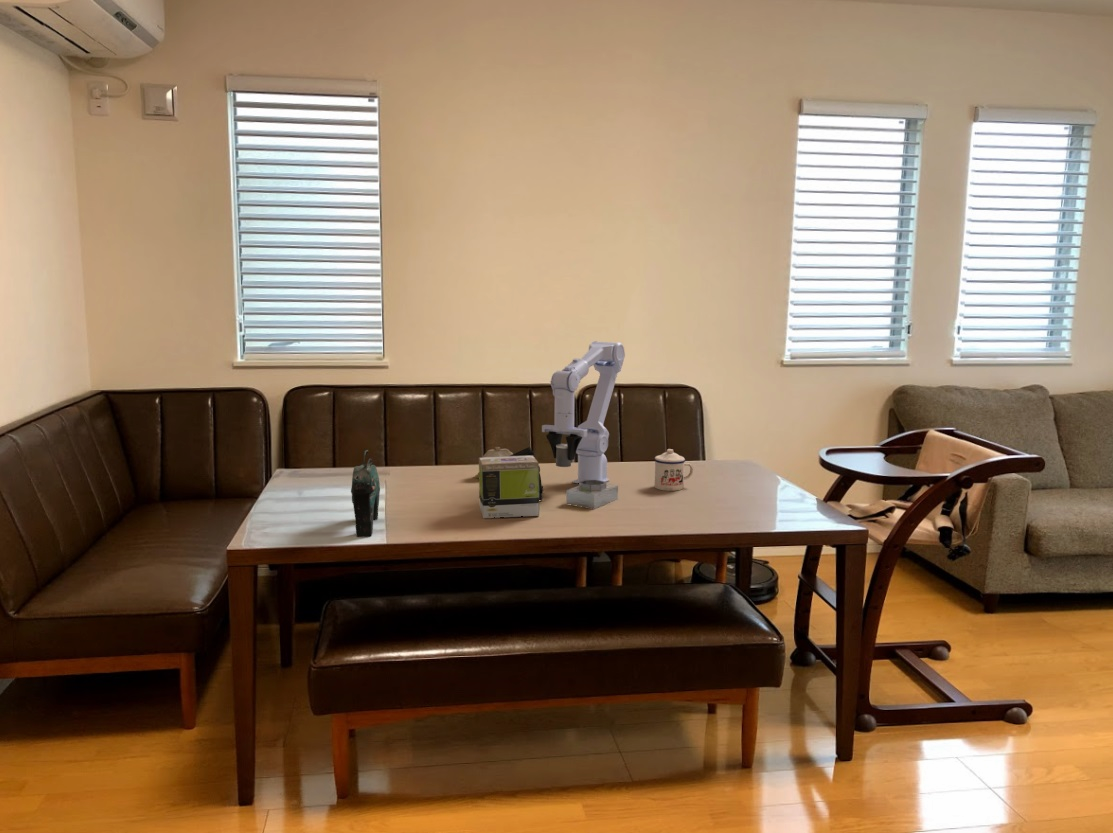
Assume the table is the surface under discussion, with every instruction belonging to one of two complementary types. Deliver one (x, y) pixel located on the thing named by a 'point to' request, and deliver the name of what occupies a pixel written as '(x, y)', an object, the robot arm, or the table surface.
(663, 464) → the teacup with lid
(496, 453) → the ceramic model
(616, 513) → the table surface
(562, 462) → the cup
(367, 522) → the ceramic cat
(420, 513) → the table surface
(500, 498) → the tea box
